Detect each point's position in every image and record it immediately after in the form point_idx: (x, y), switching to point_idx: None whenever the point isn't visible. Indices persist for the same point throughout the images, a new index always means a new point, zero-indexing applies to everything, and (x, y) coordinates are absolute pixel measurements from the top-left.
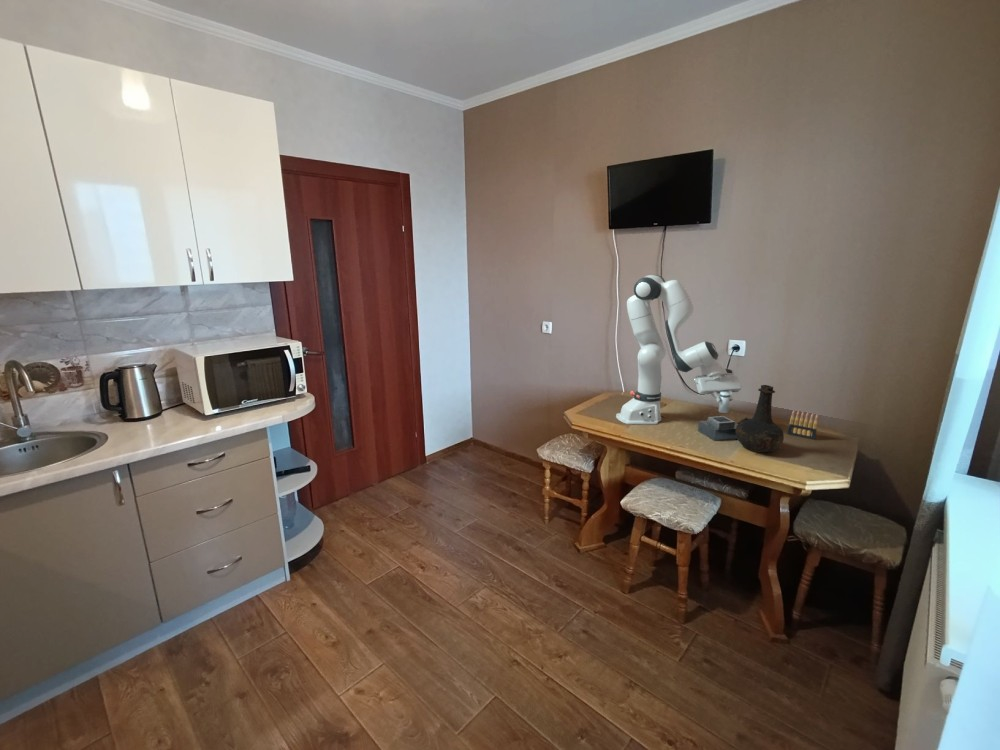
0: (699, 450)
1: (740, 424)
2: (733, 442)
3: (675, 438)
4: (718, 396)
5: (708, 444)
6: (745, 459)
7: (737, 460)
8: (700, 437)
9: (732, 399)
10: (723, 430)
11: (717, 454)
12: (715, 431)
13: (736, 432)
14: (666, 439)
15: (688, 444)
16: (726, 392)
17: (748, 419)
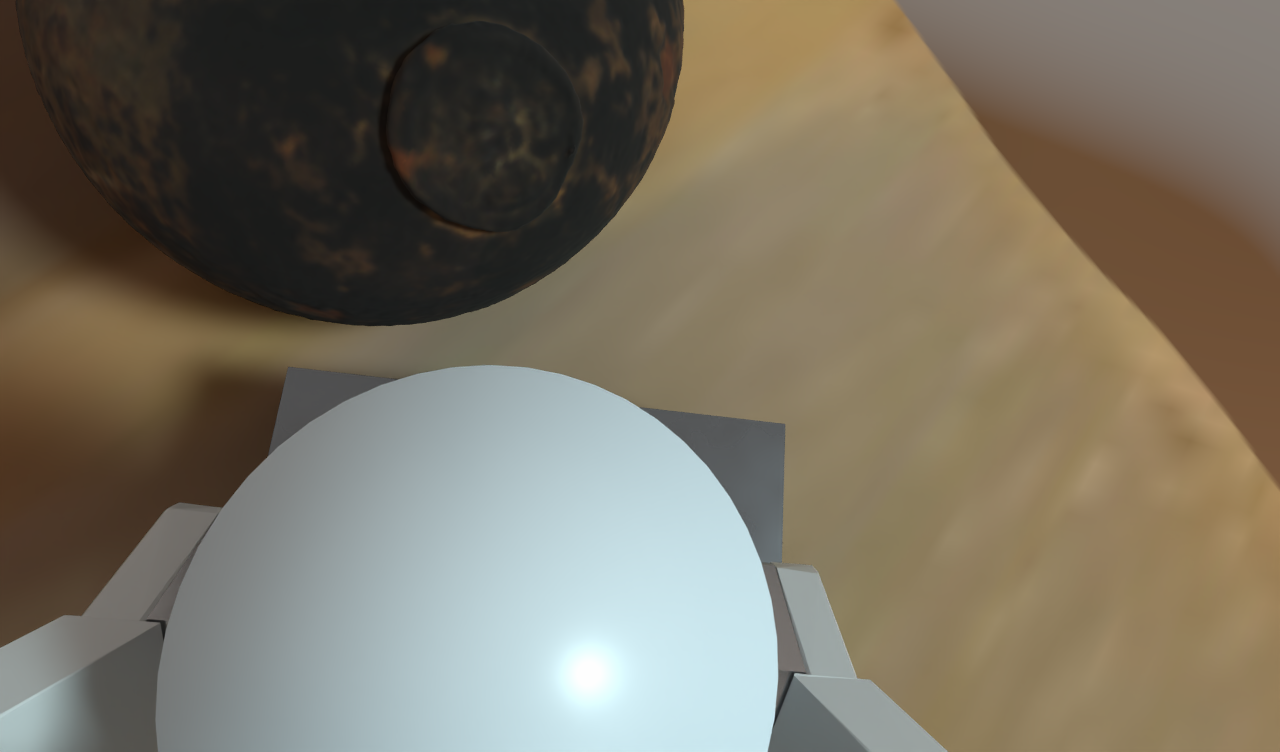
0: (1048, 295)
1: (619, 70)
2: (545, 346)
3: (1149, 662)
4: (822, 692)
5: (869, 389)
6: (750, 11)
7: (834, 22)
8: (833, 602)
9: (188, 511)
10: (648, 410)
11: (930, 169)
12: (777, 426)
13: (648, 162)
14: (1263, 664)
15: (1083, 457)
16: (394, 641)
17: (444, 5)
